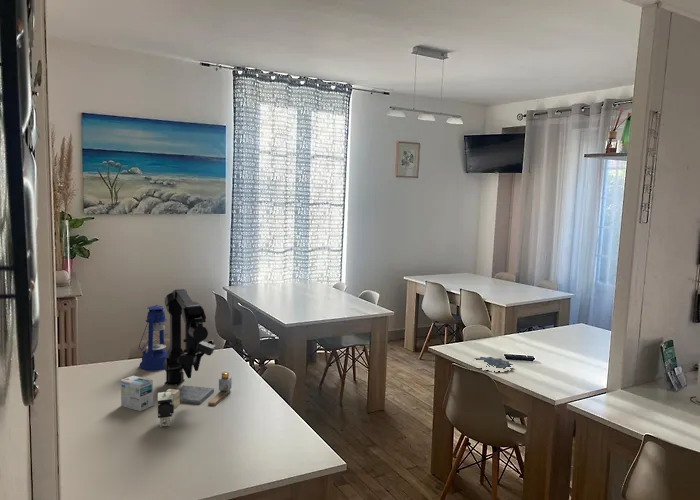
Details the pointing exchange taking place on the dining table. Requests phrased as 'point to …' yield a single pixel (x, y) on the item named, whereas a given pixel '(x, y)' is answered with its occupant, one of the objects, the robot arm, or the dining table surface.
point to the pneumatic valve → (165, 407)
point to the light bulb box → (136, 393)
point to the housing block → (175, 397)
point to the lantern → (155, 352)
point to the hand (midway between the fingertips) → (193, 374)
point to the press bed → (200, 395)
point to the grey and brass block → (225, 382)
